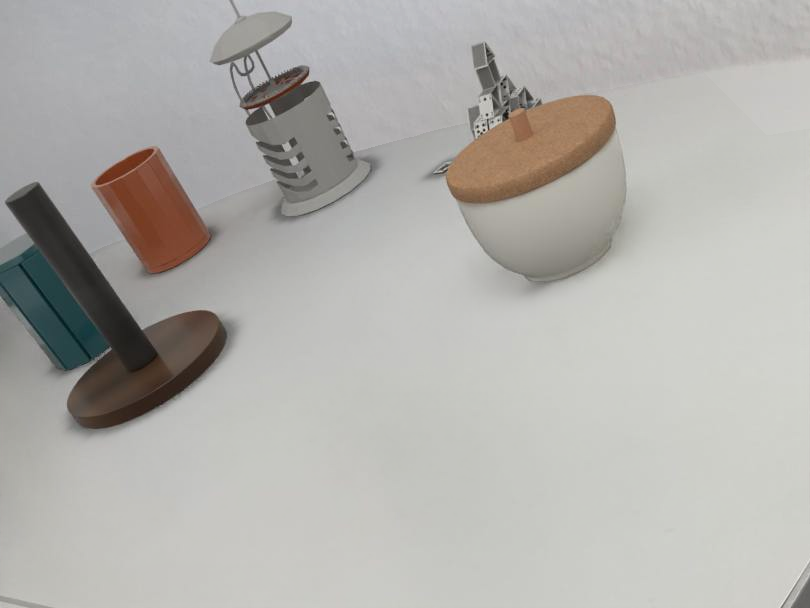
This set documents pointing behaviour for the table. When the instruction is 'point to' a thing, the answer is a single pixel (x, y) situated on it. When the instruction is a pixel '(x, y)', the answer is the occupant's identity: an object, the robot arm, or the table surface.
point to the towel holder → (117, 328)
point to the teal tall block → (46, 306)
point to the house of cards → (493, 95)
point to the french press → (291, 120)
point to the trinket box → (544, 187)
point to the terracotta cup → (151, 210)
